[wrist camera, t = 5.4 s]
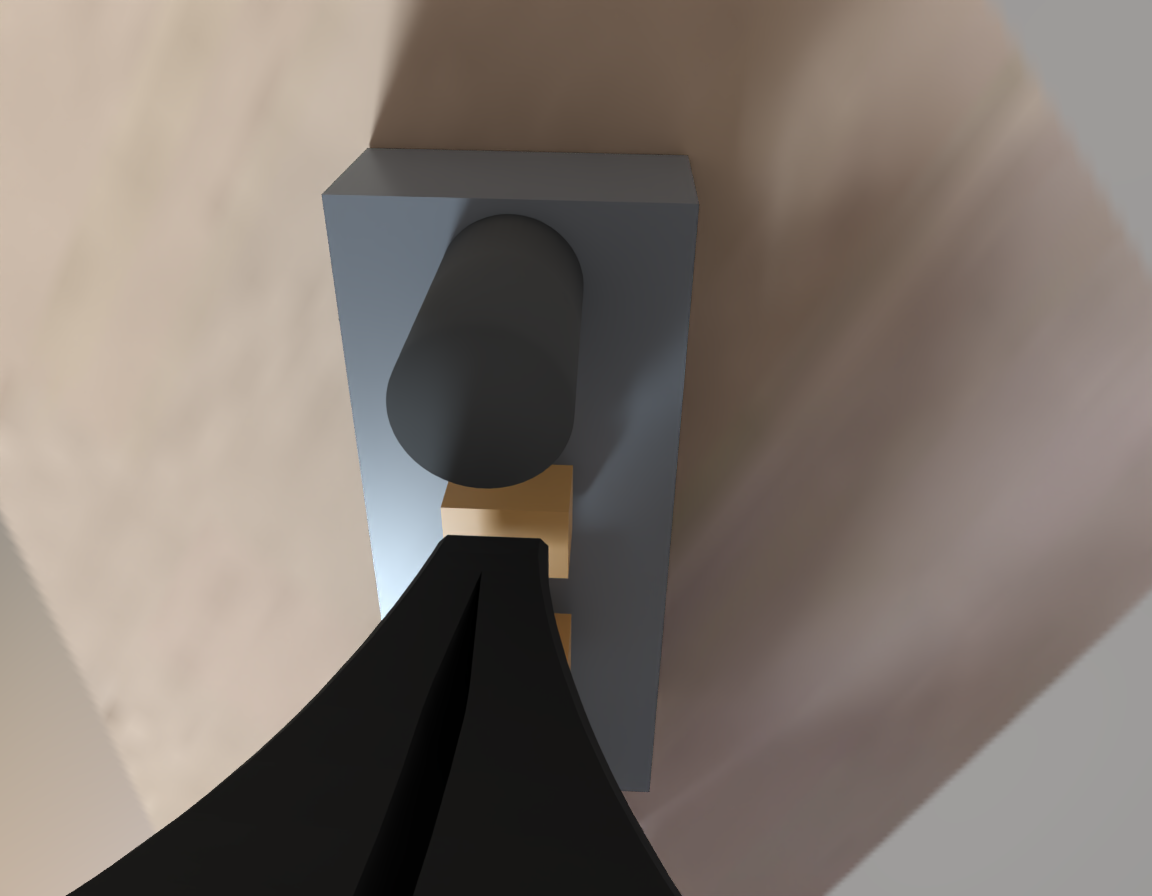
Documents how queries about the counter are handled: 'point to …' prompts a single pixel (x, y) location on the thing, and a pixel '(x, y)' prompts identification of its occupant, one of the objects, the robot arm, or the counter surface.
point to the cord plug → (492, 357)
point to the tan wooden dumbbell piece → (520, 520)
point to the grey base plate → (603, 395)
